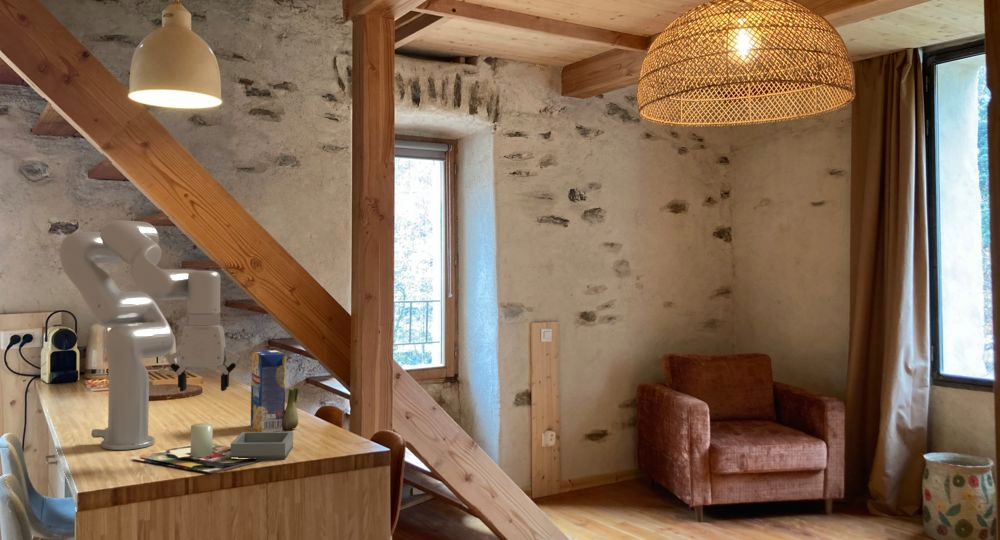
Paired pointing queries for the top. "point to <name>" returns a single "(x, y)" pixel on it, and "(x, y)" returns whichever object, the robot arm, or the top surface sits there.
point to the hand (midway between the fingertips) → (203, 390)
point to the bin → (262, 445)
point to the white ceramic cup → (201, 440)
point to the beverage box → (268, 390)
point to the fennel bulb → (291, 410)
